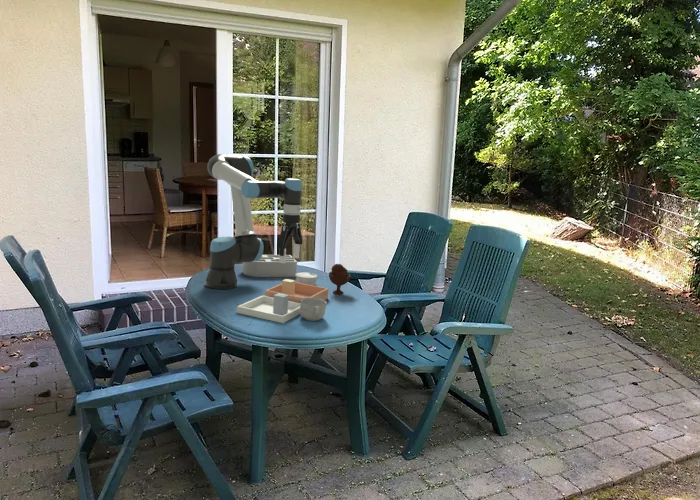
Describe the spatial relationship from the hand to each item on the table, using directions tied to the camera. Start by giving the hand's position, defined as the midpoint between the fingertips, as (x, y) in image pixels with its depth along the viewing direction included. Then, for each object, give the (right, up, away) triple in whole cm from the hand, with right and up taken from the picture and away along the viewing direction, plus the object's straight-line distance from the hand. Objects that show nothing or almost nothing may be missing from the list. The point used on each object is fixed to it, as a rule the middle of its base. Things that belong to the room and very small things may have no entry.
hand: (289, 260), depth 244 cm
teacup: (+12, -25, -19) cm, 33 cm away
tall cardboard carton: (-2, -17, +9) cm, 19 cm away
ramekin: (+5, -13, +34) cm, 37 cm away
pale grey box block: (-2, -22, -15) cm, 27 cm away
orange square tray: (+3, -18, +7) cm, 20 cm away
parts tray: (-6, -22, -14) cm, 26 cm away
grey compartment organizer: (-18, -8, +51) cm, 55 cm away
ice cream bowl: (+22, -17, +23) cm, 36 cm away
